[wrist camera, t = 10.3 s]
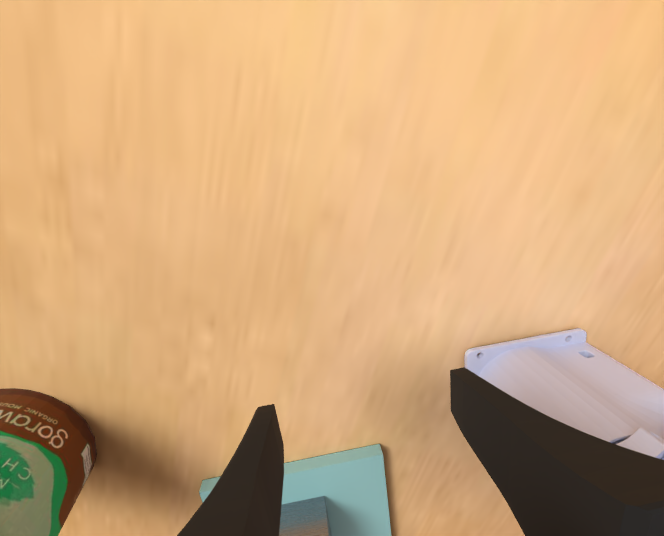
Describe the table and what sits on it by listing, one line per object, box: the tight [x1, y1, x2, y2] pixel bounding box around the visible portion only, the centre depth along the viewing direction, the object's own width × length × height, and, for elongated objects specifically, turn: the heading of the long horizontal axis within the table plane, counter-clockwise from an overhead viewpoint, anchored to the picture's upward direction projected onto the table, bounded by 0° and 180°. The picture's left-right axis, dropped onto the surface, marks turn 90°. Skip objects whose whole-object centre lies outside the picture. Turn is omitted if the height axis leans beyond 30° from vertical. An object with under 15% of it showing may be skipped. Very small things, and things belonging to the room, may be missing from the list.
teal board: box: [199, 444, 391, 536], centre depth 27 cm, size 14×13×1 cm
